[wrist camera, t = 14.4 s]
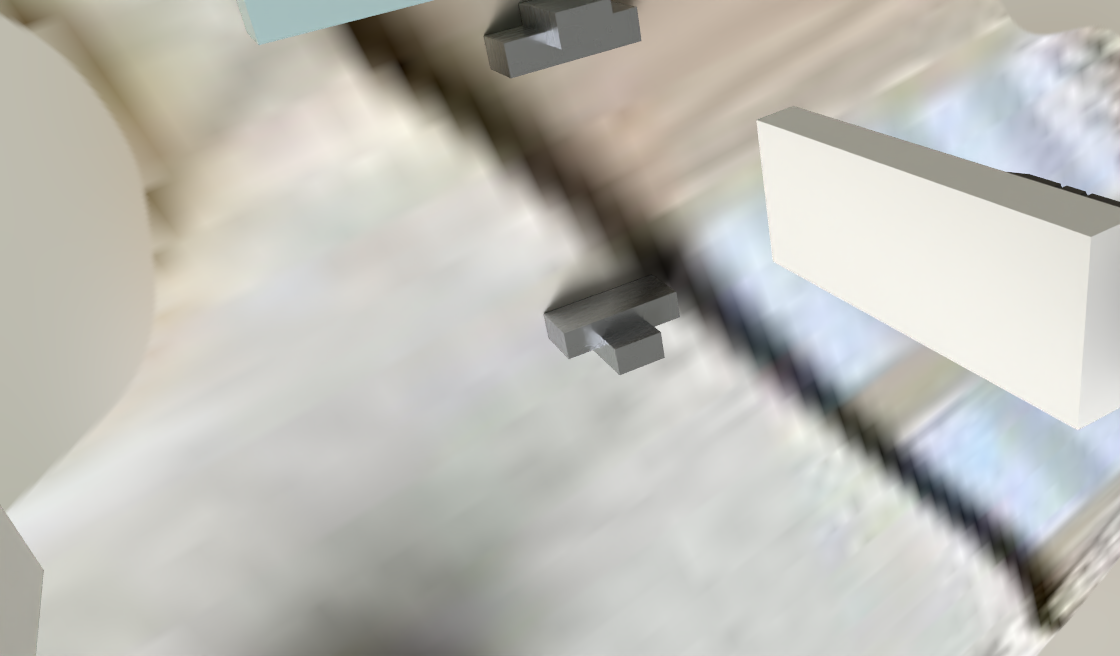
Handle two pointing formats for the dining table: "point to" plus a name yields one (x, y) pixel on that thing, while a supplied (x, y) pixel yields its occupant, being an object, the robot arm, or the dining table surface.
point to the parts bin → (308, 15)
